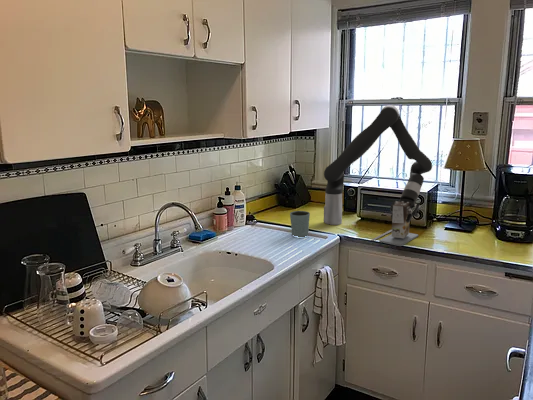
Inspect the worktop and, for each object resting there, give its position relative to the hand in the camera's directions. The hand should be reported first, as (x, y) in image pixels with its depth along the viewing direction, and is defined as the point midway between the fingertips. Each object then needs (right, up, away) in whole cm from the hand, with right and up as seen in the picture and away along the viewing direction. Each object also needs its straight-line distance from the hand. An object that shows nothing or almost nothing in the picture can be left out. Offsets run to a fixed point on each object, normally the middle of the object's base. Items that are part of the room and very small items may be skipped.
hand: (399, 220), depth 221 cm
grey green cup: (-48, -9, +13) cm, 50 cm away
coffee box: (+1, -8, +3) cm, 8 cm away
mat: (+1, -9, +4) cm, 10 cm away
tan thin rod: (-6, -8, +9) cm, 14 cm away
